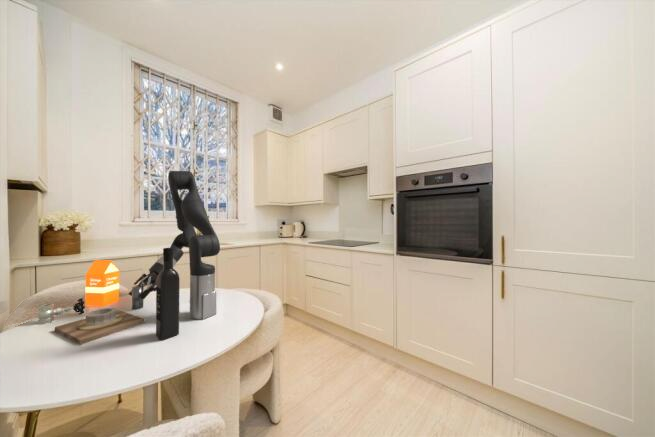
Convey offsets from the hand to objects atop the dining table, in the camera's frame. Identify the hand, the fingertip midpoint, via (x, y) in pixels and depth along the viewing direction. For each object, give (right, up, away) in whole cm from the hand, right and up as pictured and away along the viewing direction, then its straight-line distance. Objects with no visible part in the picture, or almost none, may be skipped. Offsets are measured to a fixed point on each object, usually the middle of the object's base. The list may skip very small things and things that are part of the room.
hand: (135, 296), depth 106 cm
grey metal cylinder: (0, -5, +1) cm, 5 cm away
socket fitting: (+2, -5, -18) cm, 19 cm away
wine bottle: (+30, -6, -23) cm, 38 cm away
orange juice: (-20, -5, +6) cm, 22 cm away
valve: (-21, -5, -11) cm, 24 cm away
